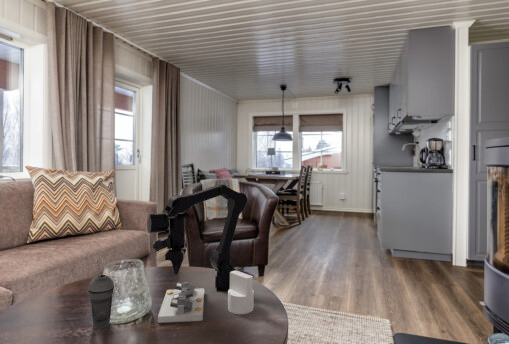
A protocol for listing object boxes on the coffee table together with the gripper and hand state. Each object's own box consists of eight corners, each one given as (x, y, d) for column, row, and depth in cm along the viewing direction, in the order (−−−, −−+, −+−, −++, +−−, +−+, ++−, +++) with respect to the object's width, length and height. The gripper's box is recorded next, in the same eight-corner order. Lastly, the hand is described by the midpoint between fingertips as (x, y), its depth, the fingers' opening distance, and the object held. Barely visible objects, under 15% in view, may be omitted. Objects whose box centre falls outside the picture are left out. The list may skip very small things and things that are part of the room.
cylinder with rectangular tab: (222, 308, 111) (222, 274, 111) (240, 300, 118) (241, 268, 117) (240, 317, 105) (241, 281, 105) (258, 308, 112) (259, 274, 111)
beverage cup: (104, 332, 94) (104, 266, 94) (82, 329, 96) (82, 264, 95) (119, 320, 102) (119, 258, 101) (99, 318, 103) (99, 257, 102)
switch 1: (194, 288, 121) (195, 286, 121) (193, 293, 117) (194, 290, 117) (176, 284, 120) (176, 281, 120) (174, 288, 116) (175, 286, 116)
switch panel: (204, 293, 123) (204, 281, 123) (202, 320, 102) (202, 305, 102) (167, 294, 121) (167, 282, 121) (157, 322, 100) (157, 307, 100)
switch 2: (193, 291, 114) (193, 288, 114) (193, 296, 110) (192, 293, 110) (174, 297, 113) (173, 294, 113) (173, 302, 109) (172, 299, 109)
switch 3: (191, 305, 107) (192, 302, 107) (191, 310, 103) (192, 307, 103) (171, 300, 106) (172, 297, 106) (169, 306, 102) (170, 303, 102)
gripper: (158, 225, 126) (158, 264, 126) (149, 236, 107) (149, 282, 108) (187, 225, 127) (187, 263, 128) (183, 236, 109) (183, 281, 109)
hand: (176, 271), depth 118 cm, fingers open, 5 cm apart
